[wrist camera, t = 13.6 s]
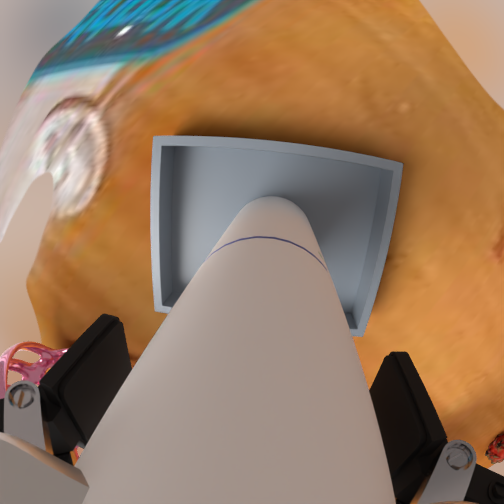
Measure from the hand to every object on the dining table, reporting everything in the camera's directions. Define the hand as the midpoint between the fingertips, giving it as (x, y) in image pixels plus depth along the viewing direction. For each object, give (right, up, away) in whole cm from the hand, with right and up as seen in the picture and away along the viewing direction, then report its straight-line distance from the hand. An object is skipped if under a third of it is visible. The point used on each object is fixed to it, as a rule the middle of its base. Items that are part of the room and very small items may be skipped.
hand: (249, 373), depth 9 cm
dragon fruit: (+65, -46, +29) cm, 85 cm away
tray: (+2, +6, +17) cm, 18 cm away
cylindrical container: (+2, +6, +17) cm, 18 cm away
